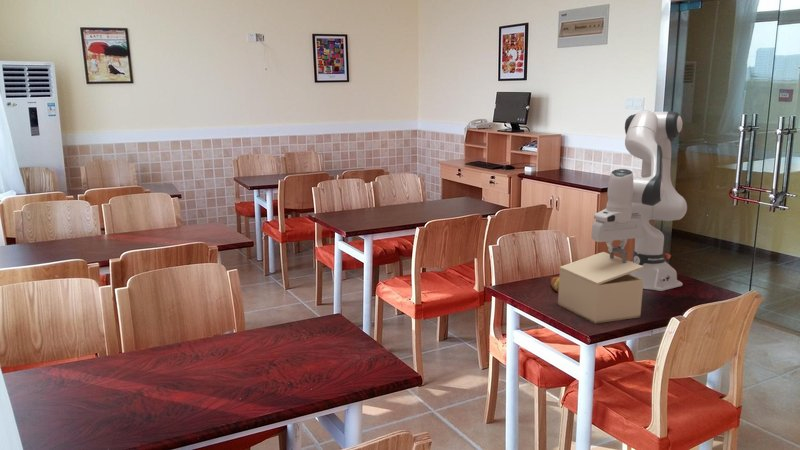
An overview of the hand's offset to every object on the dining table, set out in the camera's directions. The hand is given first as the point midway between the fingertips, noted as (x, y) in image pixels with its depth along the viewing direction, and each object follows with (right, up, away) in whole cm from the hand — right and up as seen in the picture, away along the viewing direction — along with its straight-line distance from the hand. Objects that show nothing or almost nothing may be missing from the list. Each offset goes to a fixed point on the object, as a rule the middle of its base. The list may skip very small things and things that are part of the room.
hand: (615, 251), depth 240 cm
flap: (-6, -6, -1) cm, 9 cm away
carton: (-6, -22, +2) cm, 23 cm away
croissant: (-12, -18, +25) cm, 33 cm away
